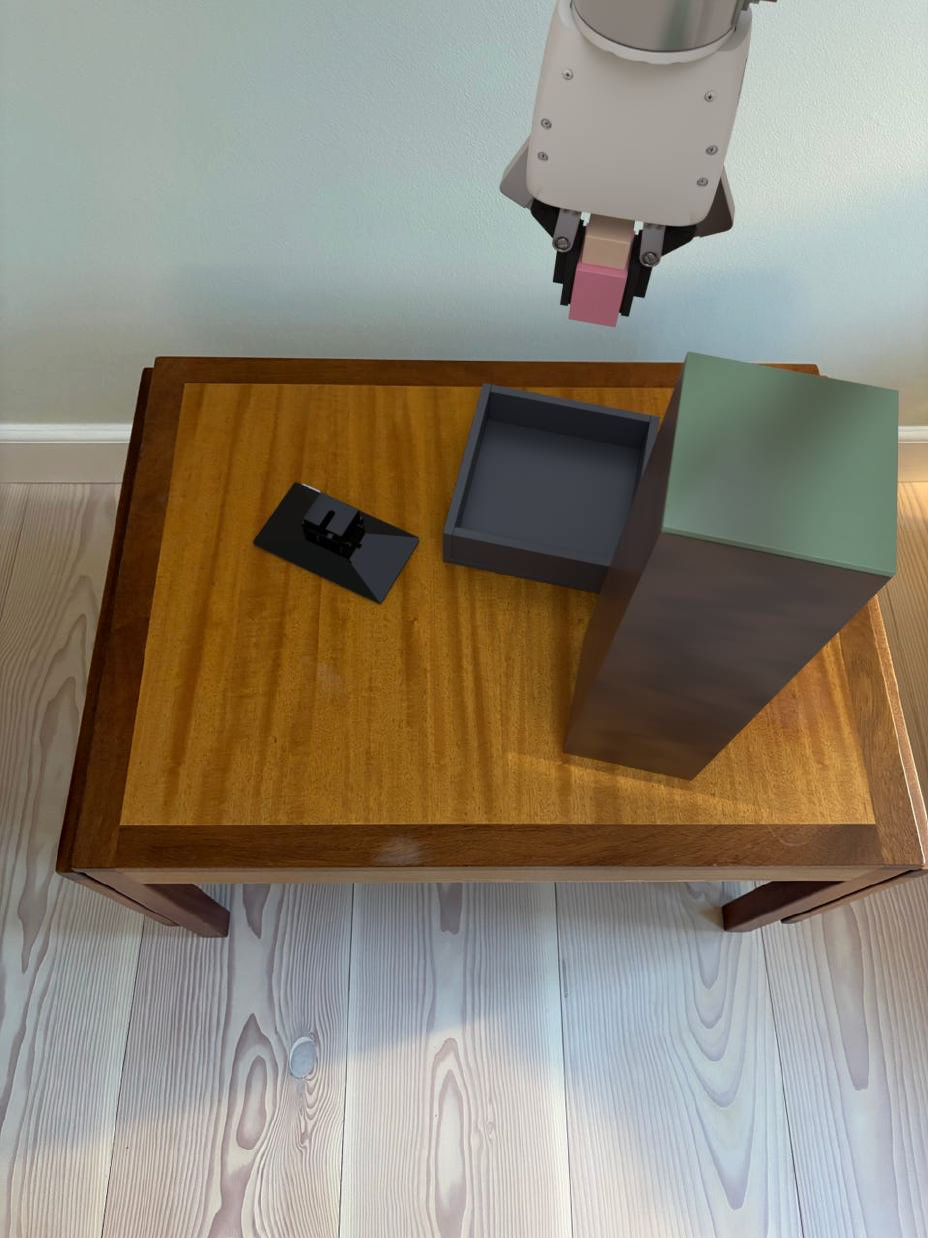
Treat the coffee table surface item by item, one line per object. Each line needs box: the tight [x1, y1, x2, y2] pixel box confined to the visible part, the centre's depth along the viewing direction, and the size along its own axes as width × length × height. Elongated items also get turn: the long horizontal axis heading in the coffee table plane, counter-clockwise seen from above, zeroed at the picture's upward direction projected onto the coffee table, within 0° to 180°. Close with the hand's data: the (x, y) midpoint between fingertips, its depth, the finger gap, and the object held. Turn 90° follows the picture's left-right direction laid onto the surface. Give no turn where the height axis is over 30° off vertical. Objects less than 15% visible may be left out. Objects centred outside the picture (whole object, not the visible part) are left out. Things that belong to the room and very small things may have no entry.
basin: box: [442, 382, 661, 595], centre depth 76 cm, size 16×16×5 cm
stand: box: [562, 351, 900, 782], centre depth 55 cm, size 10×10×34 cm
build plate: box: [252, 481, 420, 605], centre depth 74 cm, size 12×7×5 cm, turn 63°
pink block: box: [567, 213, 637, 328], centre depth 54 cm, size 3×4×6 cm
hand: (597, 292), depth 56 cm, fingers closed on pink block, 3 cm apart
